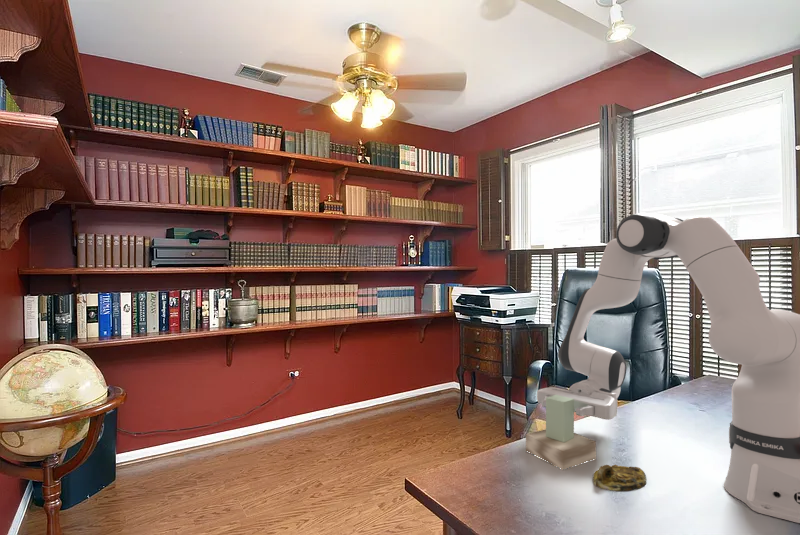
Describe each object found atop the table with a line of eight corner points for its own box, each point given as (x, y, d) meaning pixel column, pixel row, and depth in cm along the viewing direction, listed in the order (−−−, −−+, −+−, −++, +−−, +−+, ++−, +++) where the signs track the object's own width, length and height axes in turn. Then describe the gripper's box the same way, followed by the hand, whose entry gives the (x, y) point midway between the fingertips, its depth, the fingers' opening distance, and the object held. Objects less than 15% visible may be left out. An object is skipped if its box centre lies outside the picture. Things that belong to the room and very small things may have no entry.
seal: (621, 470, 104) (580, 484, 97) (618, 450, 105) (578, 462, 97) (659, 481, 96) (619, 498, 89) (656, 459, 97) (616, 474, 89)
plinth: (596, 461, 107) (595, 441, 107) (562, 471, 101) (562, 450, 101) (558, 444, 118) (557, 426, 118) (526, 453, 112) (525, 434, 112)
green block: (573, 437, 109) (574, 398, 110) (563, 442, 106) (564, 402, 106) (555, 432, 113) (556, 394, 114) (545, 436, 110) (546, 397, 110)
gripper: (550, 379, 127) (525, 388, 118) (622, 393, 112) (600, 404, 103) (550, 400, 127) (525, 410, 118) (623, 417, 112) (600, 431, 102)
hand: (560, 408), depth 110 cm, fingers open, 8 cm apart
